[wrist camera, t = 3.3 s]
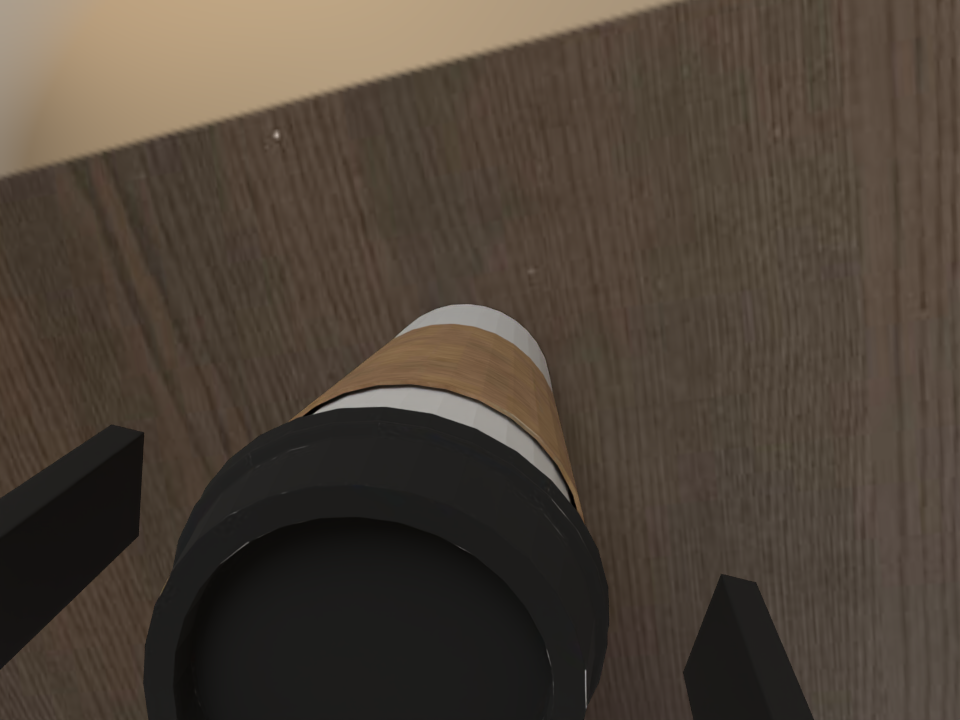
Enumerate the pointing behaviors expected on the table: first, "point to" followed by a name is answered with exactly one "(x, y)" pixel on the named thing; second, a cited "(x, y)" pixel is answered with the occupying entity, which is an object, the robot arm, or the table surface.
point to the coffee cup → (393, 550)
